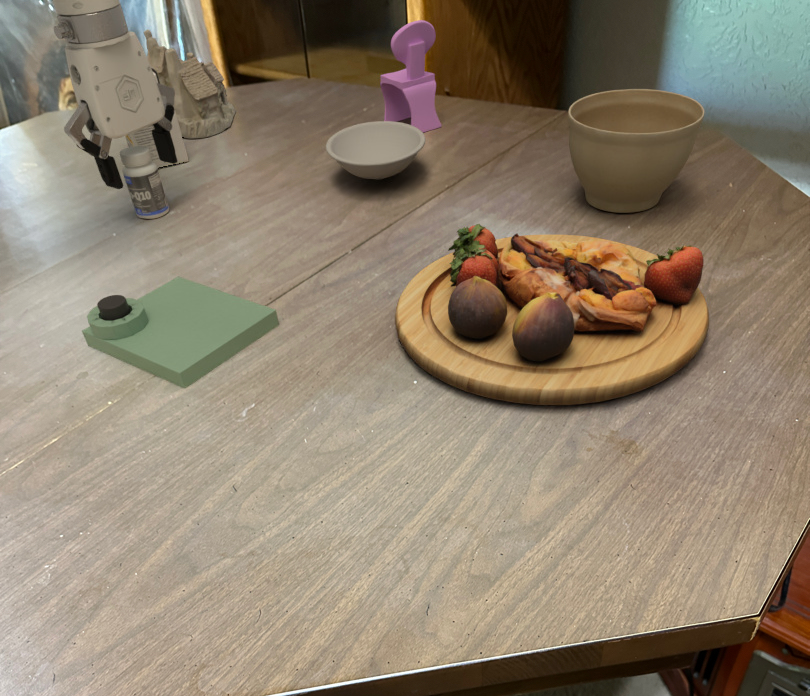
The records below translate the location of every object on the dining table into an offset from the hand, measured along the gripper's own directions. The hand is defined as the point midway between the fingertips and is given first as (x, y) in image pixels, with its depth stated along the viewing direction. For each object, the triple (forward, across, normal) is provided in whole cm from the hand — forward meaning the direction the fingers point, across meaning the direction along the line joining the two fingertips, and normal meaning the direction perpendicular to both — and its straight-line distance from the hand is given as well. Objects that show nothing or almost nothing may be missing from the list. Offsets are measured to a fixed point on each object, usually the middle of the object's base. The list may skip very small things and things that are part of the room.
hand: (142, 174), depth 100 cm
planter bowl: (+6, +33, -57) cm, 66 cm away
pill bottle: (+6, 0, 0) cm, 6 cm away
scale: (+5, -21, -30) cm, 37 cm away
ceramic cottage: (+6, +32, +24) cm, 40 cm away
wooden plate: (+6, +1, -63) cm, 63 cm away
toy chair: (+6, +46, -13) cm, 48 cm away
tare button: (+2, -25, -25) cm, 36 cm away
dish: (+6, +25, -22) cm, 34 cm away
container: (+6, +15, +16) cm, 23 cm away
